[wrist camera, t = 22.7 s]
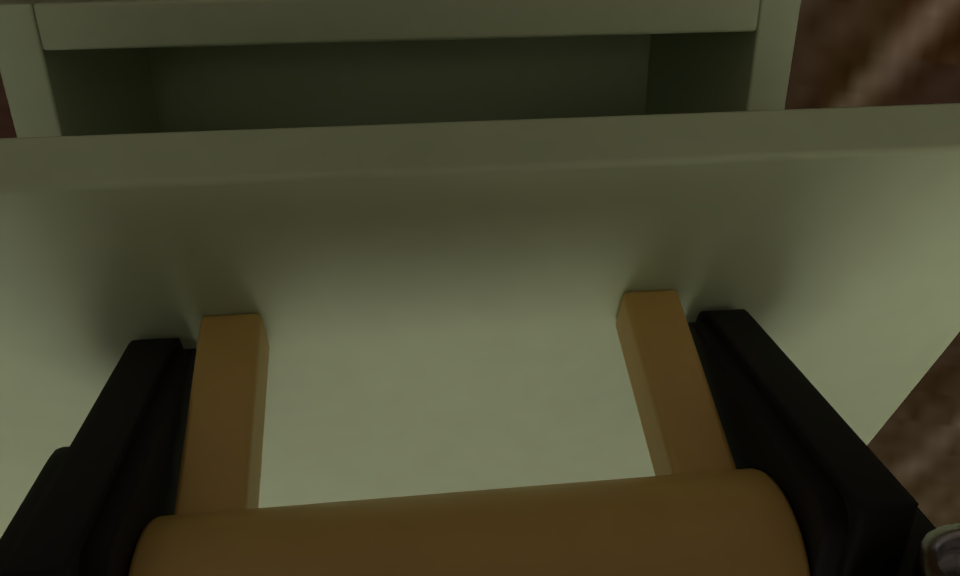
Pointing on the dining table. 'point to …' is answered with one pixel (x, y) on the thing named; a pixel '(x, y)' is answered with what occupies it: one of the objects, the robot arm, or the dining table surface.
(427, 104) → the chest
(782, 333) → the lid
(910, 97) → the dining table surface
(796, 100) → the dining table surface
